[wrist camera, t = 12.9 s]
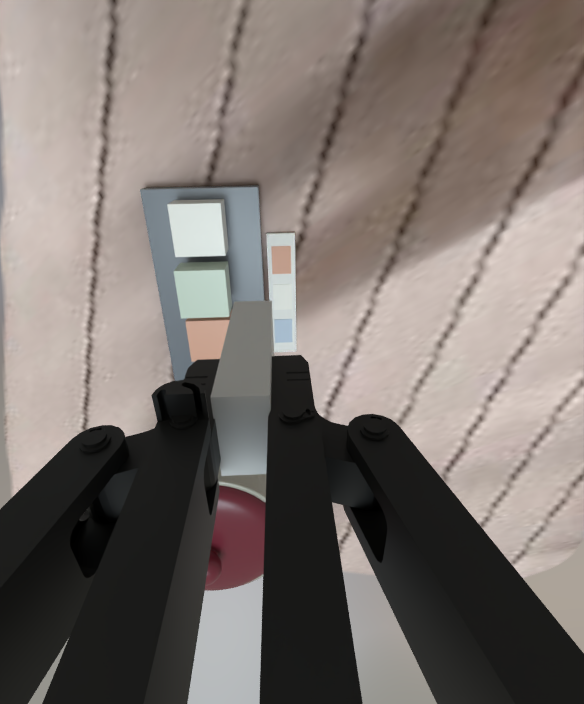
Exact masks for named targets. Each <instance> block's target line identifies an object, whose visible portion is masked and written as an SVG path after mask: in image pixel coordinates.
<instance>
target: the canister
mask: <svg viewBox="0 0 584 704" xmlns="http://www.w3.org/2000/svg"><path fill="white" fill-rule="evenodd" d="M218 481H219V490H220V492H219V498H218V505H217V511H216V518H215V525H214V531H213V538H212V544H211V551H210V557H209V564H208V570H207V577H206V583H205V590H223V589H229V588H234V587H238V586H241V585H244V584H247V583H250V582H253V581H255V580H257V579H259V578H261V577H263V572H264V538H265V504H266V474H257V475H232V476H222V475H221V468H220V467H219V473H218Z"/></svg>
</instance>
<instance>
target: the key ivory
mask: <svg viewBox="0 0 584 704" xmlns="http://www.w3.org/2000/svg"><path fill="white" fill-rule="evenodd" d="M167 207H168V213H169V219H170V226H171V232H172V239H173V245H174V252H175V257H200V256H226V253H227V251H228V249H229V248H228V237H227V226H226V215H225V204H224V199H206V200H174V201H172V202H170V203H169V204H167Z"/></svg>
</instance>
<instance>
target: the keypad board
mask: <svg viewBox="0 0 584 704" xmlns="http://www.w3.org/2000/svg"><path fill="white" fill-rule="evenodd" d="M140 192H141V198H142V203H143V209H144V214H145V220H146V225H147V230H148V236H149V241H150V247H151V252H152V258H153V263H154V269H155V274H156V280H157V285H158V291H159V296H160V302H161V307H162V312H163V318H164V323H165V329H166V334H167V340H168V345H169V351H170V356H171V362H172V367H173V373H174V378H175V381H179V380H184V379H185V375H186V372H187V369H188V367H190V366H191V365H192V364H193V363H194V362H192V361H191V355H190V348H189V342H188V335H187V329H186V322H185V321H186V319H187V318H181V315H180V309H179V303H178V296H177V290H176V284H175V278H174V270H175V269H176V268H177V266H178V265H179V264H180V263H189V262H225V261H228V267H229V278H230V288H231V299H232V308H231V309H233V304H234V302H238V301H265V297H264V278H263V259H262V240H261V221H260V201H259V185H253V186H207V187H162V188H144V189H141V190H140ZM206 199H224V204H225V215H226V226H227V237H228V248H229V249H228V251H227V253H226V256H200V257H175V252H174V245H173V239H172V232H171V226H170V219H169V213H168V207H167V204H169V203H170V202H172V201H174V200H206Z"/></svg>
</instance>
